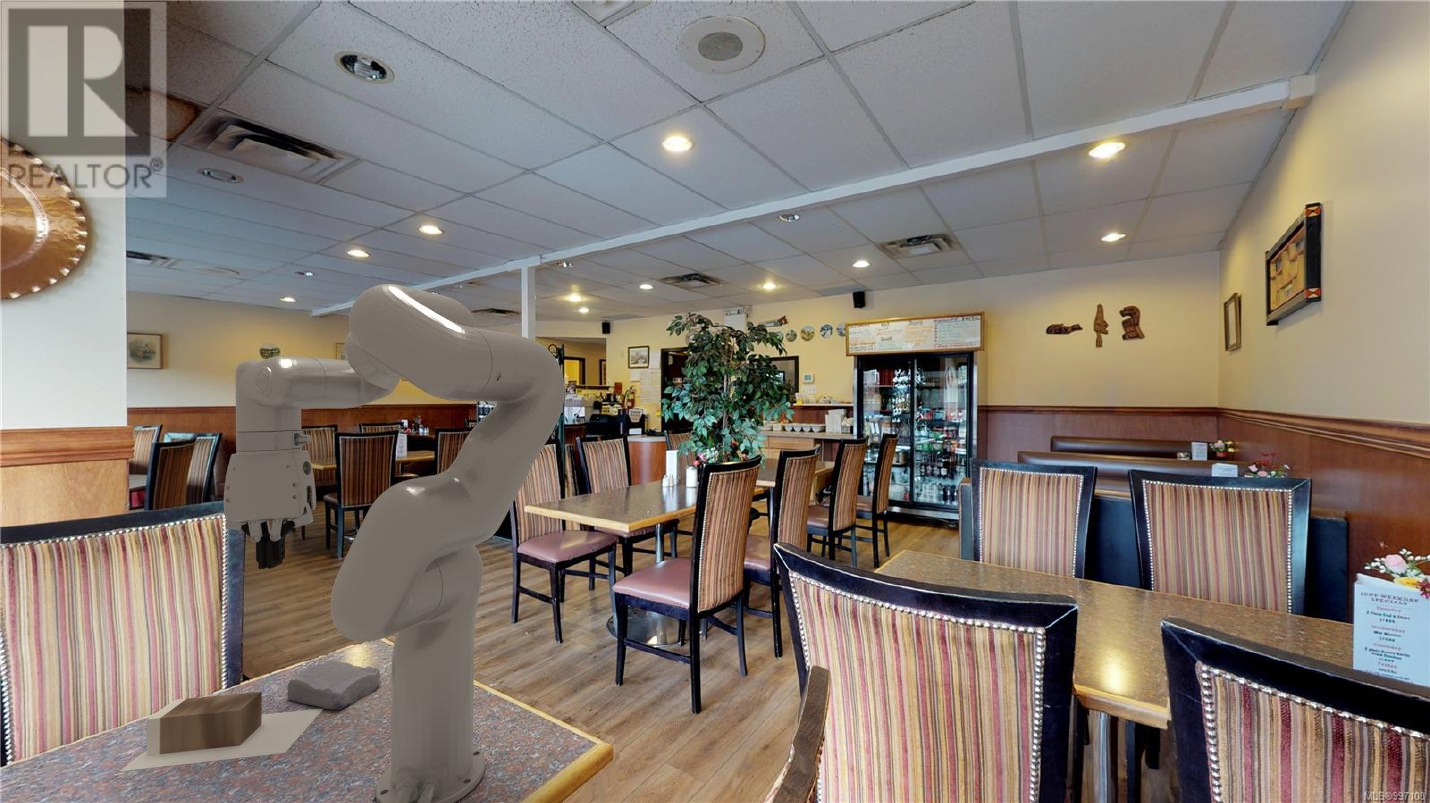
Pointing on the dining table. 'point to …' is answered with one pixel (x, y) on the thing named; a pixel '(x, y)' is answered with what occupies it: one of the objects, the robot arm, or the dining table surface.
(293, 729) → the beige mat
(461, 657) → the robot arm
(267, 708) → the dining table surface
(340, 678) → the stone block
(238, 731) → the walnut block
